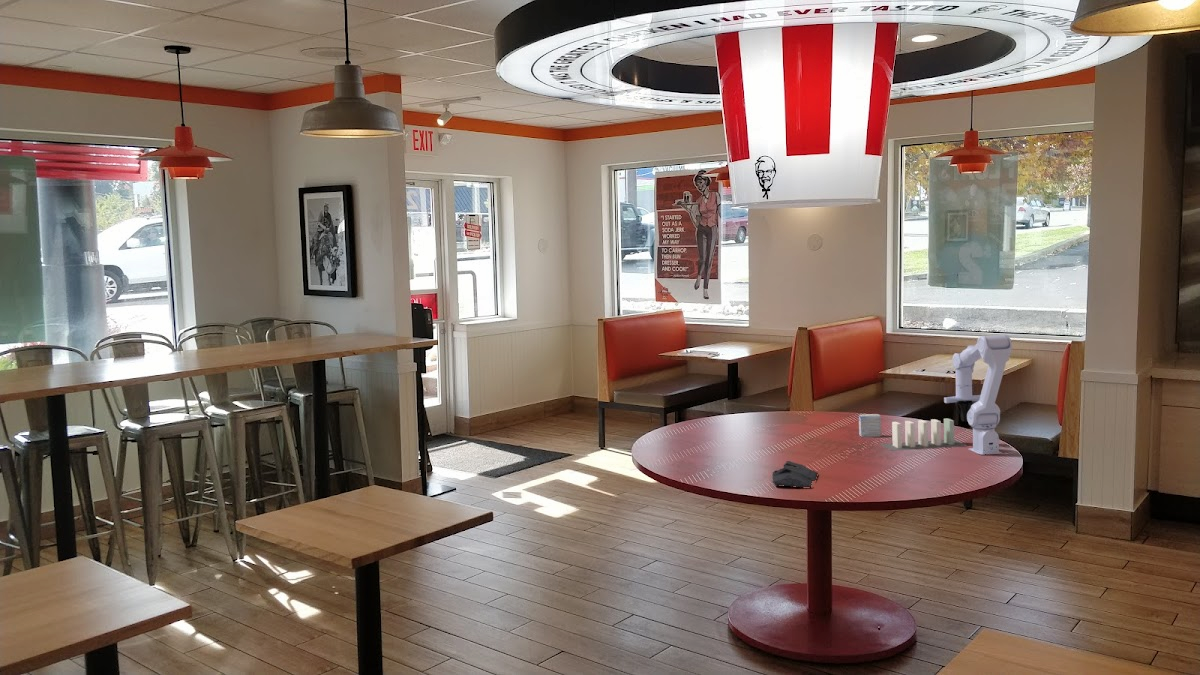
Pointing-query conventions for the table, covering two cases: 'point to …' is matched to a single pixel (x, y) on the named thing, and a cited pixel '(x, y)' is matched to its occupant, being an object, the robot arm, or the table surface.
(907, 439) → the domino
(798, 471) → the dark slate chunk
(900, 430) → the domino
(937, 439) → the domino
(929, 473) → the table surface
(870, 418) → the medicine box
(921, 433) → the domino
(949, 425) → the domino
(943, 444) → the charcoal mat
